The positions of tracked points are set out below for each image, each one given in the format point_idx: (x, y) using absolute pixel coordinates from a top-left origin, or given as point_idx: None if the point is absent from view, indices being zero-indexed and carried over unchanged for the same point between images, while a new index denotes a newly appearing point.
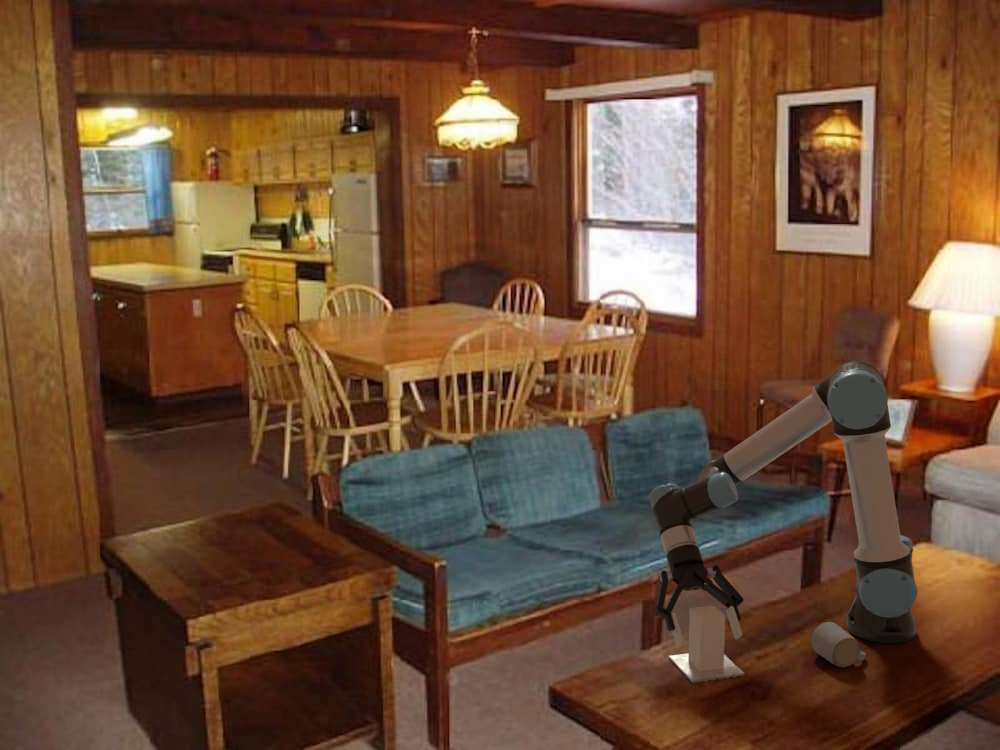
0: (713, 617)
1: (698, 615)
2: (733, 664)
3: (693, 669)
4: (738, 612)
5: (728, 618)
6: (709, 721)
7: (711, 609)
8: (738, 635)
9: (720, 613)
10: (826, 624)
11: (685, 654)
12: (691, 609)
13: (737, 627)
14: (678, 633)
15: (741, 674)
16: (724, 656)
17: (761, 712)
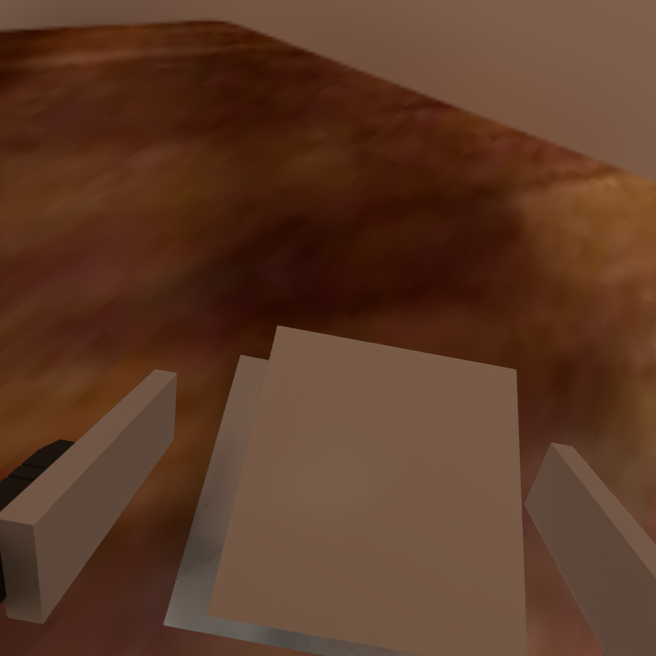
0: (392, 349)
1: (510, 437)
2: (224, 437)
3: None
4: (2, 485)
5: (92, 549)
6: (510, 199)
7: (307, 509)
8: (175, 388)
9: (287, 380)
10: None
11: (363, 651)
12: (521, 622)
13: (152, 395)
14: (603, 485)
15: (253, 358)
16: (200, 531)
17: (352, 174)
